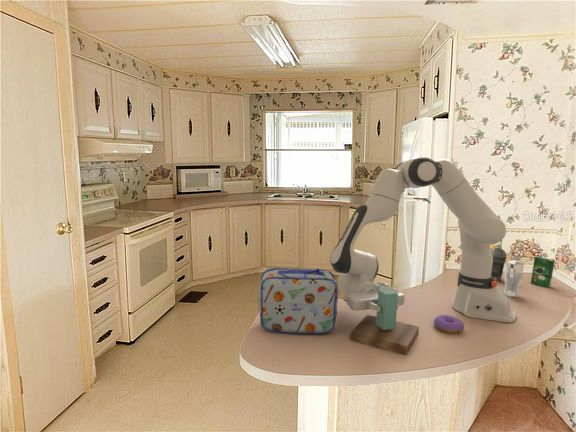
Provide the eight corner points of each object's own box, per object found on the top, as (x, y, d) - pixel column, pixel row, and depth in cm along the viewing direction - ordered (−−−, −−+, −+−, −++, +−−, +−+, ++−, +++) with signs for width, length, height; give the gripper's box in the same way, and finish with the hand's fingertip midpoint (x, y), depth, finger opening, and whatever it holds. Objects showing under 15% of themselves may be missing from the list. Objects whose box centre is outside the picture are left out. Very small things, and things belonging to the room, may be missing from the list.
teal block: (387, 322, 136) (389, 288, 134) (395, 328, 131) (398, 293, 129) (376, 324, 134) (378, 289, 132) (383, 330, 130) (386, 294, 128)
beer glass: (522, 298, 172) (526, 264, 170) (504, 297, 173) (508, 263, 171) (516, 293, 179) (520, 260, 177) (499, 291, 180) (503, 259, 178)
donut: (428, 327, 141) (431, 314, 141) (438, 325, 148) (441, 312, 148) (457, 337, 134) (460, 323, 134) (466, 334, 141) (469, 320, 141)
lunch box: (336, 323, 143) (339, 263, 140) (340, 336, 133) (344, 272, 130) (259, 322, 143) (260, 262, 139) (257, 335, 133) (258, 271, 129)
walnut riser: (418, 334, 136) (418, 326, 135) (406, 355, 122) (407, 346, 122) (366, 322, 145) (367, 314, 144) (350, 340, 131) (350, 331, 130)
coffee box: (551, 286, 189) (555, 259, 187) (549, 287, 187) (553, 260, 185) (532, 282, 195) (535, 255, 193) (530, 283, 193) (533, 256, 191)
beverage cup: (498, 277, 201) (503, 237, 198) (507, 281, 194) (512, 241, 191) (484, 276, 201) (488, 237, 198) (492, 281, 194) (497, 241, 190)
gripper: (340, 288, 140) (360, 302, 127) (391, 282, 147) (415, 296, 134) (339, 305, 141) (359, 321, 128) (389, 299, 148) (413, 314, 135)
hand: (388, 308), depth 131 cm, fingers closed on teal block, 4 cm apart
